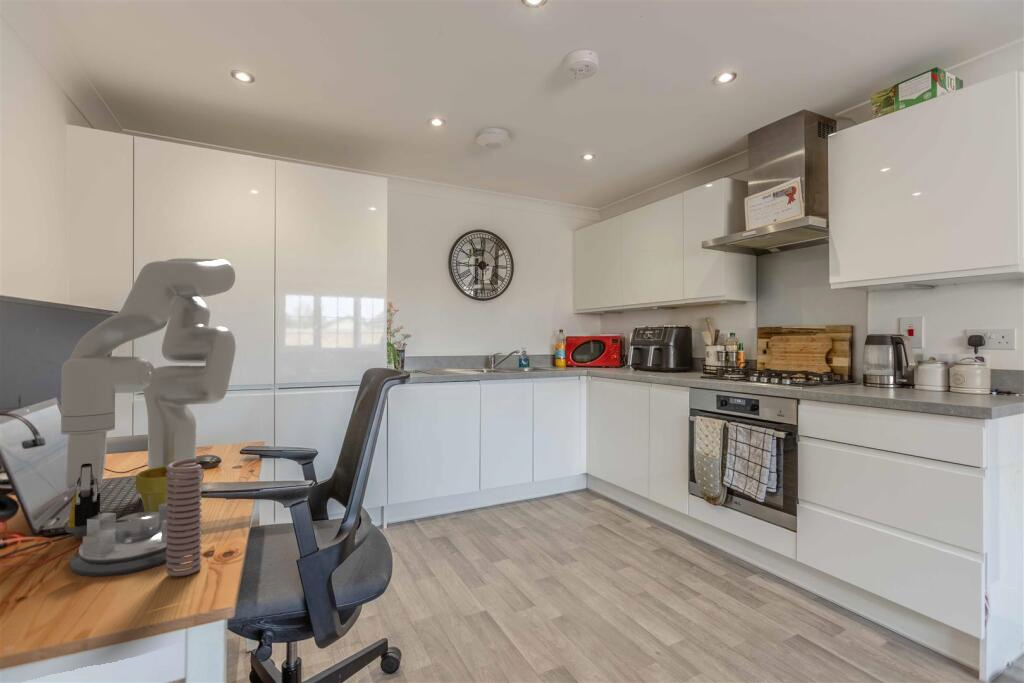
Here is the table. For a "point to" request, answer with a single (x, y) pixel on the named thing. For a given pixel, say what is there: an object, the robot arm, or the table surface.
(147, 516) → the steel lathe chuck
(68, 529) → the stepped yellow cone
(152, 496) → the plant pot
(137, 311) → the robot arm
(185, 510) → the coil
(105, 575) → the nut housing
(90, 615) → the table surface
